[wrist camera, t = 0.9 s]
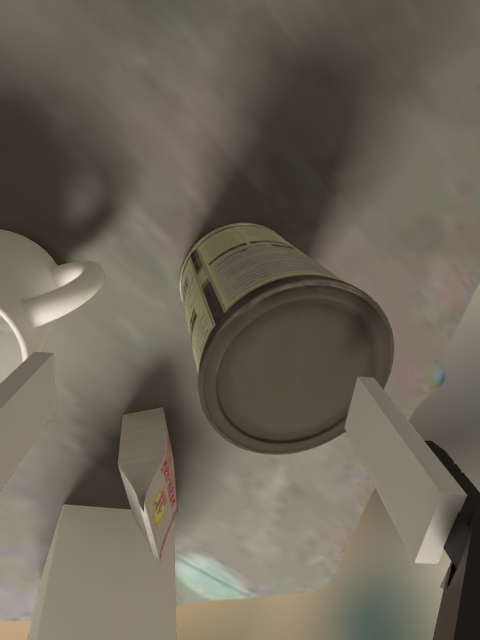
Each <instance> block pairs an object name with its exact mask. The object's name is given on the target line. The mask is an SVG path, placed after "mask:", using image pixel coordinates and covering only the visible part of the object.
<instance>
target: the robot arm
mask: <svg viewBox="0 0 480 640" xmlns="http://www.w3.org/2000/svg"><path fill="white" fill-rule="evenodd" d="M56 410H57V400H56V385H55V369H54V354H53V353H46V352H33V353H32V354H31V355H30V356H29V357H28V358H27V359H26V360H25V361H24V362H23V363H21V364H20V365H19V366H18V367H17V368H16V369H15V370H14V371H13V372H12V373H11V374H10V375H9V376H8V377H7V378H6V379H4V380H3V381H2V382H1V383H0V491H1V489H2V488H3V486H4V485H5V484H6V482H7V481H8V479H9V478H10V476H11V475H12V474H13V472H14V471H15V469H16V468H17V466H18V465H19V463H20V462H21V461H22V459H23V458H24V456H25V455H26V453H27V452H28V451H29V449H30V448H31V446H32V445H33V443H34V442H35V440H36V439H37V438H38V436H39V435H40V433H41V432H42V430H43V429H44V428H45V426H46V425H47V423H48V422H49V420H50V419H51V417H52V416H53V415H54V413H55V412H56ZM344 428H345V430H346V431H347V433H348V435H349V437H350V439H351V441H352V443H353V445H354V447H355V449H356V451H357V453H358V455H359V457H360V459H361V461H362V463H363V464H364V466H365V468H366V470H367V472H368V474H369V476H370V478H371V480H372V482H373V484H374V486H375V488H376V490H377V491H378V494H379V495H380V497H381V499H382V501H383V503H384V505H385V507H386V509H387V511H388V513H389V515H390V517H391V519H392V521H393V523H394V525H395V526H396V528H397V530H398V532H399V534H400V536H401V538H402V540H403V542H404V544H405V546H406V548H407V550H408V551H409V554H410V556H411V558H412V559H413V561H414V563H433V564H436V563H437V564H438V562H439V560H440V557H441V555H442V552H443V550H445V551H446V553H447V554H448V556H449V558H450V559H451V561H452V562H451V564H450V566H449V569H448V571H447V573H446V575H445V577H444V580H443V582H442V584H441V586H440V587H441V588H443V589H444V590H443V595H442V599H441V604H440V609H439V613H438V618H437V623H436V627H435V632H434V636H433V640H480V492H479V491H478V490H477V489H476V487H475V486H474V485H473V484H472V483H471V481H469V479H468V478H467V477H466V476H465V474H464V473H462V472H461V470H460V468H459V467H458V466H457V465H456V464H454V461H453V460H452V459H451V458H450V457H449V455H448V454H447V453H446V452H445V451H444V450H443V449H442V448H440V447H439V446H438V445H436V444H435V443H433V442H432V441H424V440H423V439H422V438H421V436H420V435H419V434H418V433H417V431H416V430H415V429H414V428H413V426H412V425H411V424H410V422H409V421H408V420H407V419H406V417H405V416H404V415H403V414H402V412H401V411H400V410H399V409H398V407H397V406H396V405H395V404H394V402H393V401H392V400H391V399H390V397H389V396H388V395H387V394H386V392H385V391H384V390H383V388H382V387H381V386H380V385H379V383H378V382H377V381H376V380H375V378H372V377H359V376H358V377H357V381H356V384H355V388H354V392H353V396H352V400H351V404H350V408H349V412H348V415H347V419H346V423H345V427H344Z"/></svg>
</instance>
